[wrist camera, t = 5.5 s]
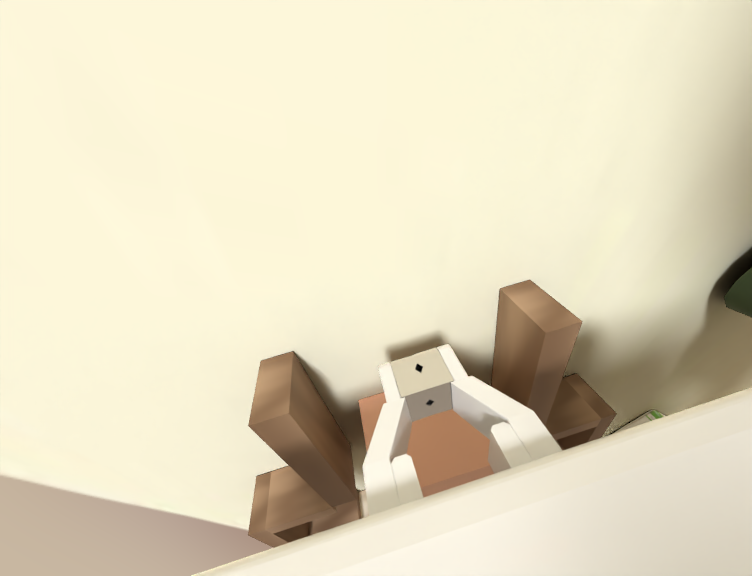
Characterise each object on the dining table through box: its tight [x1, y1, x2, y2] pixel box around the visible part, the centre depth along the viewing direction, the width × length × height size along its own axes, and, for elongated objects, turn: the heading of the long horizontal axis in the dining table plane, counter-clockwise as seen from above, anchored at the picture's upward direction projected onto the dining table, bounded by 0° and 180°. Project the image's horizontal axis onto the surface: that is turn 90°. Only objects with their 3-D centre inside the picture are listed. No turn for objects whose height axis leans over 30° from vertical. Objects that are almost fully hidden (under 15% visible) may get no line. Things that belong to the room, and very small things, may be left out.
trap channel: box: [248, 280, 617, 548], centre depth 19 cm, size 23×28×3 cm
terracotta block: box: [358, 392, 494, 497], centre depth 15 cm, size 6×6×5 cm
